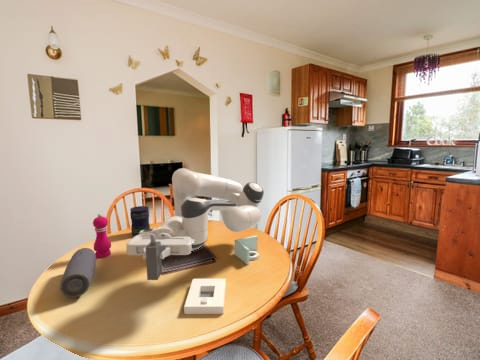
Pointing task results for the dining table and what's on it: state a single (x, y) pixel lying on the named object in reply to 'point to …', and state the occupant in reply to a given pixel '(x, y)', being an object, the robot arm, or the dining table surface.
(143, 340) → the dining table surface
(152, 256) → the grey bottle
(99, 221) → the pepper mill
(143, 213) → the storage jar
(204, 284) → the socket plate
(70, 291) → the bluetooth speaker
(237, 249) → the right angle wall
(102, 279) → the dining table surface
